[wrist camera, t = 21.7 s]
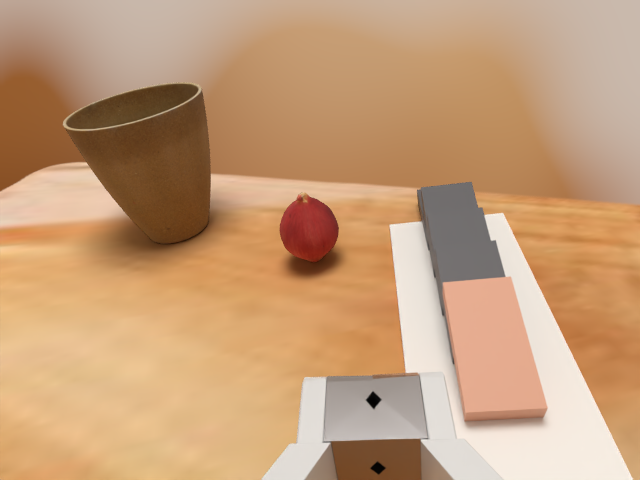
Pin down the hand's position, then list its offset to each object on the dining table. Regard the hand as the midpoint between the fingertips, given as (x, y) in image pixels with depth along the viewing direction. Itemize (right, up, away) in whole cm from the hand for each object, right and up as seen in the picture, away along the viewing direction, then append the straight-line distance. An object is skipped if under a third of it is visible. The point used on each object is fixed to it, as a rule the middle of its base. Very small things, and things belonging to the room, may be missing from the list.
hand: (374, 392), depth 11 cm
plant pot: (-19, +5, +53) cm, 56 cm away
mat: (+11, -3, +31) cm, 33 cm away
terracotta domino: (+11, -8, +22) cm, 25 cm away
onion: (-2, +1, +42) cm, 42 cm away
